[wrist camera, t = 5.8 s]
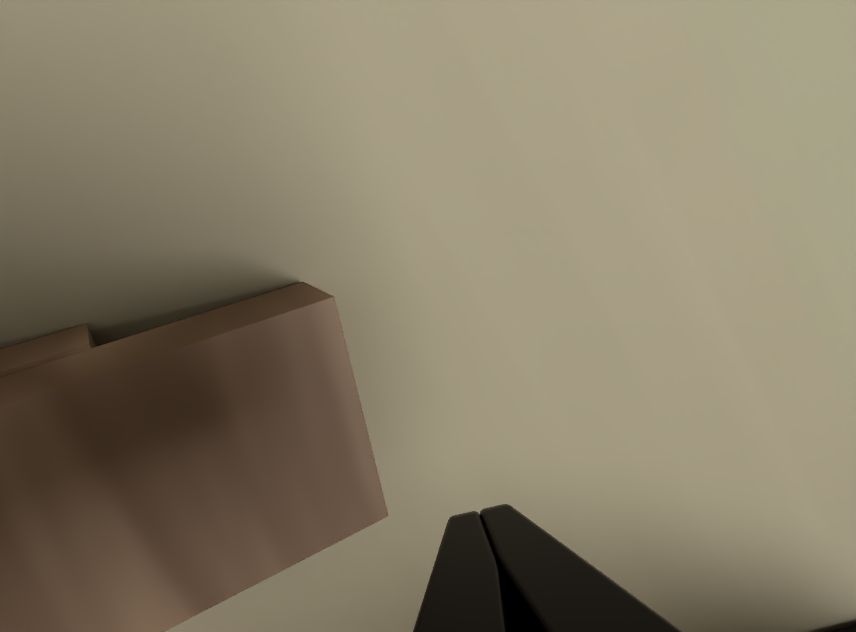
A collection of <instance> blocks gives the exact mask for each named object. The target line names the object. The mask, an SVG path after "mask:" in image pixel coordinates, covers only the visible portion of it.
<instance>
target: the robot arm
mask: <svg viewBox="0 0 856 632" xmlns="http://www.w3.org/2000/svg"><path fill="white" fill-rule="evenodd" d="M413 632H682V631H681V630H679V629H678V628H677V627H675V626H674V625H672V624H671V623H670V622H668V621H667V620H666V619H664V618H663V617H662V616H660V615H659V614H657V613H656V612H655V611H653V610H652V609H651V608H649V607H648V606H647V605H645V604H644V603H642V602H641V601H640V600H638V599H637V598H636V597H634V596H633V595H632V594H630V593H629V592H627V591H626V590H625V589H623V588H622V587H621V586H619V585H618V584H617V583H615V582H614V581H612V580H611V579H610V578H608V577H607V576H606V575H604V574H603V573H602V572H600V571H599V570H597V569H596V568H595V567H593V566H592V565H591V564H589V563H588V562H587V561H585V560H584V559H582V558H581V557H580V556H578V555H577V554H576V553H574V552H573V551H572V550H570V549H569V548H568V547H566V546H565V545H563V544H562V543H561V542H559V541H558V540H557V539H555V538H554V537H553V536H551V535H550V534H548V533H547V532H546V531H544V530H543V529H542V528H540V527H539V526H538V525H536V524H535V523H533V522H532V521H531V520H529V519H528V518H527V517H525V516H524V515H523V514H521V513H520V512H518V511H517V510H516V509H514V508H513V507H512V506H510V505H508V504H502V505H498V506H494V507H489V508H485V509H482V510H481V511H480V515H479V513H478V512H476V511H472V512H467V513H463V514H458V515H454V516H451V517H450V518H449V520H448V523H447V526H446V529H445V532H444V535H443V538H442V542H441V545H440V548H439V551H438V554H437V557H436V561H435V564H434V567H433V570H432V573H431V576H430V580H429V583H428V586H427V589H426V592H425V595H424V598H423V602H422V605H421V608H420V611H419V614H418V617H417V621H416V624H415V627H414V630H413ZM838 632H856V627H854V628H850V629H846V630H842V631H838Z"/></svg>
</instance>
